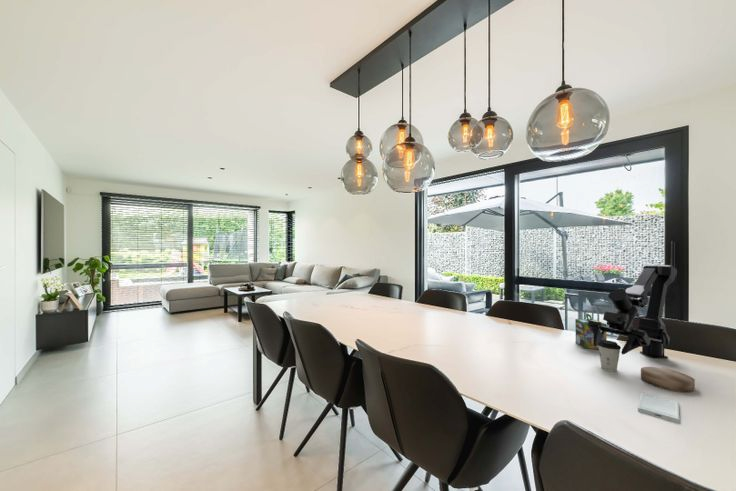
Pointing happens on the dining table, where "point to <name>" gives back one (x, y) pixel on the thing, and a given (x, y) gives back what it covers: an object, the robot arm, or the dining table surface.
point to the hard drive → (659, 407)
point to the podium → (667, 379)
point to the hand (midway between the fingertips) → (607, 349)
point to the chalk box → (586, 333)
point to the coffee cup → (609, 354)
